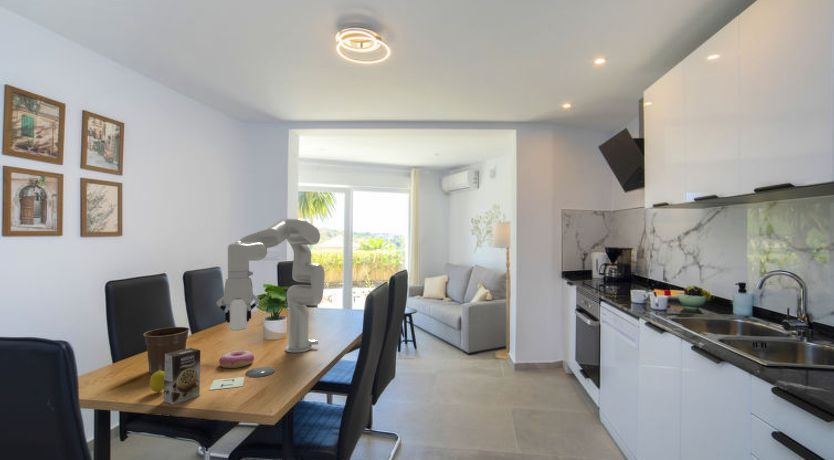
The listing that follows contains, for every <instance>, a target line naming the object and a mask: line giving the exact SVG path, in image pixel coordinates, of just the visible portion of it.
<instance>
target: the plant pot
mask: <svg viewBox="0 0 834 460" xmlns="http://www.w3.org/2000/svg"><path fill="white" fill-rule="evenodd" d="M190 330H191V329H190V328H189V327H185V326H171V327H170V326H169V327H163V328H162V327H161V328H156V329H153V330H148V331H146V332H144V333H143V334H142V335H143V337H144V342H145V345H146V352H147V360H148V362H147V363H148V371H149V374H151V375H153V374H154V373H155V372H157V371H158V370H161V371H164V372H165V354H166V353H170V352H175V351H179V350H184V349H187V340H188V337H189V331H190Z"/></svg>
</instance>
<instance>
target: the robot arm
mask: <svg viewBox="0 0 834 460" xmlns="http://www.w3.org/2000/svg"><path fill="white" fill-rule="evenodd" d="M320 240H321V233H320V231H319V229H318V228H317V227H316V226H314V225H313V224H312V223H310V222H309V221H307V220H305V219H303V218H282V219H280V220H279V221H277V222H276V223H274V224H272V225H271V226H269V227H268V228H266V229H263V230H259V231H257V232H254V233H251V234H249V235H246V236H243V237H241V238H240V239H238V240H237V241H235V242H234V243H231V244H228V246H227V278H226V279H225V282H224V288H223V289H224V291H223V296H221V297H220V298H219V299H218V300H217V301H216V302H215V304H216V305H217V306H218V308H220V309H221V310H222V311H224V314H225V315H224V317H225V321H226V323H227V324H230V305H231V302H232V301H233V300H234V299H242V298H243V301H244V302H245V304H247V309H248V311H247V322H248V323H249V322H250V320H251V319H252V310H253V309H254V308H255V307H256V306H257V305H258V304H259V303H260V302H261V299H259V297H257V295H255V294H254V289H253V287H254V286H253V282H252V281H253V280H252V277H251V276H253V275H254V271H250V261H251V262H252V261H253V262H255V261H256V262H259V261H262V260H264V259H265V258H266V256H267V254H268V249H269V248H273V247H278V246H279V245H280V244H281V243H283V242H284V241H287V242H288V243H289V245H290V247H291V249H292V250H293V261H292V270H291V271H292V274H291V276H292V280H294V281H295V282H298V283H310V285H307V284H293V285H291V286H289V288H288V289H287V291H286V299H287V305H288V306H287V307H288V339H287V340H288V343H287V344H288V345H287V346H285V347H284V351H285V352H287V353H294V354H295V353H297V354H298V353H304V352H309V351H310V350H312V345H314V346H316V345H319V340H315V339H310V338H309V334H310V333H309V332H310V330H309V329H310V327H309V326H310V324H309V323H310V320H309V319H310V312H309V310H308V307H307V306H317V305H320V304H321V303H322V302H323V301H322V300H323V298H324V297H323V296H324V289H325V288H324V287H325V275H326V273H325V269H324V267H323V265H322V264H320V263H318V262H317V263H315V262H313V263H312V251H311V248H310V247H309V246H310V245H311V246H312V245H316V244H318V243H319V242H320ZM253 301H254V302H253ZM222 302H223V303H222ZM252 302H253V303H252ZM251 303H252V304H251Z"/></svg>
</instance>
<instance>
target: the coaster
mask: <svg viewBox="0 0 834 460" xmlns="http://www.w3.org/2000/svg"><path fill="white" fill-rule="evenodd" d="M275 371H276V370H275V368H273V367H271V366H261V367H260V366H259V367H255V368H251V369H248V370H247V371H246V372H245V375H246V376H247V377H248V376H249V377H248V378H262V376H264V377H267V375H268V376H270V375H273V374H274V373H275ZM246 376H245V377H246Z"/></svg>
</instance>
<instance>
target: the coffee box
mask: <svg viewBox="0 0 834 460" xmlns="http://www.w3.org/2000/svg"><path fill="white" fill-rule="evenodd" d="M200 381H201V350H200V349H198V348H194V347H189V348H186V349H184V350H179V351H175V352H170V353H166V354H165V372H164V390H163V401H164V402H165V403H168V404H169V405H172V406H173V405H177V404H179V403H180V404H181V403H183V402H186V401H189V400H192V399H194V398H198V397H200V395H201V394H200V391H201V390H200V387H201V386H200V385H201V384H200V383H201V382H200Z"/></svg>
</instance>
